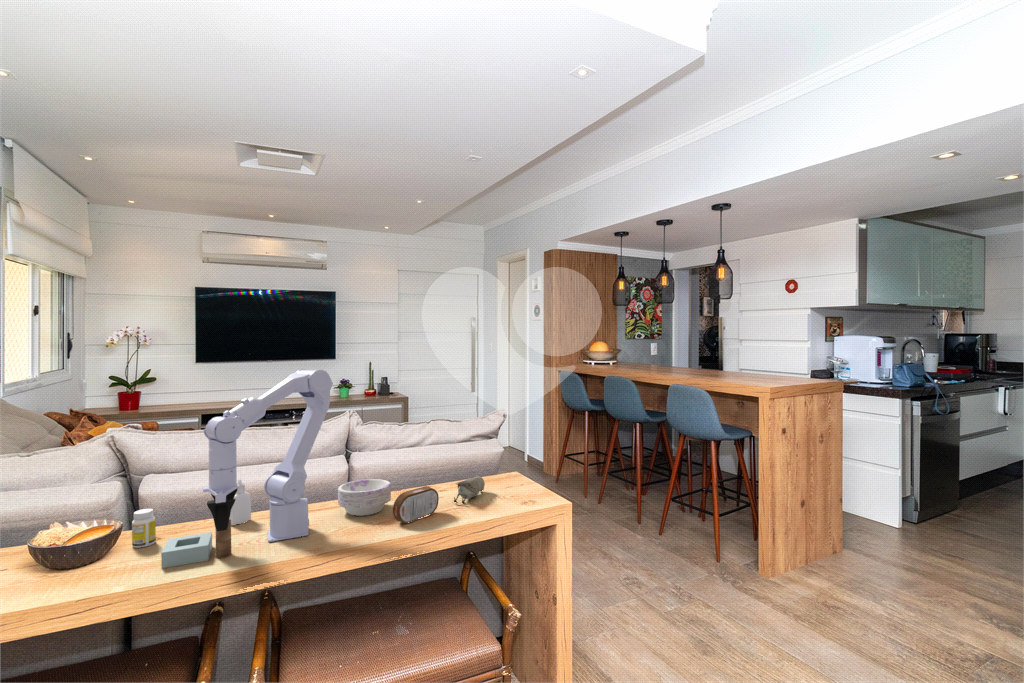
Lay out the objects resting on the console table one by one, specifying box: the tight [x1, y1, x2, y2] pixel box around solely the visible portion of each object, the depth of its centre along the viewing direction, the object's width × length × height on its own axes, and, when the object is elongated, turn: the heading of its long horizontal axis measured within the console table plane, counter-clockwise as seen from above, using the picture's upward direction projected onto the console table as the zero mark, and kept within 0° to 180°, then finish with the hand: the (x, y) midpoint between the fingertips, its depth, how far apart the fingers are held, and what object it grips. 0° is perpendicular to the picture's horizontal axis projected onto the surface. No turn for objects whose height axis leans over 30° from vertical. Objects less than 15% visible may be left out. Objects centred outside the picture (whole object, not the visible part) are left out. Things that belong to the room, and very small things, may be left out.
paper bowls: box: [337, 478, 392, 517], centre depth 148 cm, size 15×15×8 cm
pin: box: [215, 519, 232, 559], centre depth 118 cm, size 3×3×8 cm
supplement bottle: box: [131, 508, 157, 549], centre depth 125 cm, size 5×5×8 cm
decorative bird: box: [453, 475, 486, 505], centre depth 159 cm, size 5×16×8 cm, turn 156°
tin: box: [392, 485, 440, 524], centre depth 141 cm, size 15×3×8 cm, turn 140°
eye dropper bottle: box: [229, 479, 252, 526], centre depth 140 cm, size 4×6×12 cm
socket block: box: [160, 531, 213, 569], centre depth 117 cm, size 9×9×4 cm
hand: (223, 524), depth 118 cm, fingers open, 7 cm apart
